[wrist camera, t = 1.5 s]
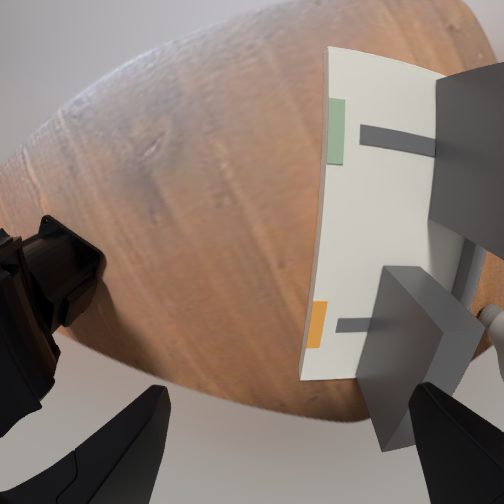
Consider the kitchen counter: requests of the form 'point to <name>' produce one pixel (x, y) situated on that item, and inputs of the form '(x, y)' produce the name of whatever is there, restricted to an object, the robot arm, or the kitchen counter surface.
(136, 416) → the robot arm
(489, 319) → the lightbulb
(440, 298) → the block
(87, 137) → the kitchen counter surface
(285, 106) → the kitchen counter surface
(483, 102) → the block
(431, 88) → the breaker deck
